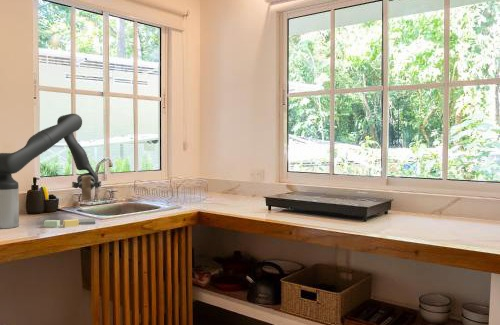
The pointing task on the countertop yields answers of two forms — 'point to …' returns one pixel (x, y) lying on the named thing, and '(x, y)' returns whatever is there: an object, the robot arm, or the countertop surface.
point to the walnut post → (86, 187)
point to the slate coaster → (86, 221)
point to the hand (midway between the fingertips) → (86, 186)
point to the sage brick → (52, 223)
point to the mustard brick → (70, 223)
